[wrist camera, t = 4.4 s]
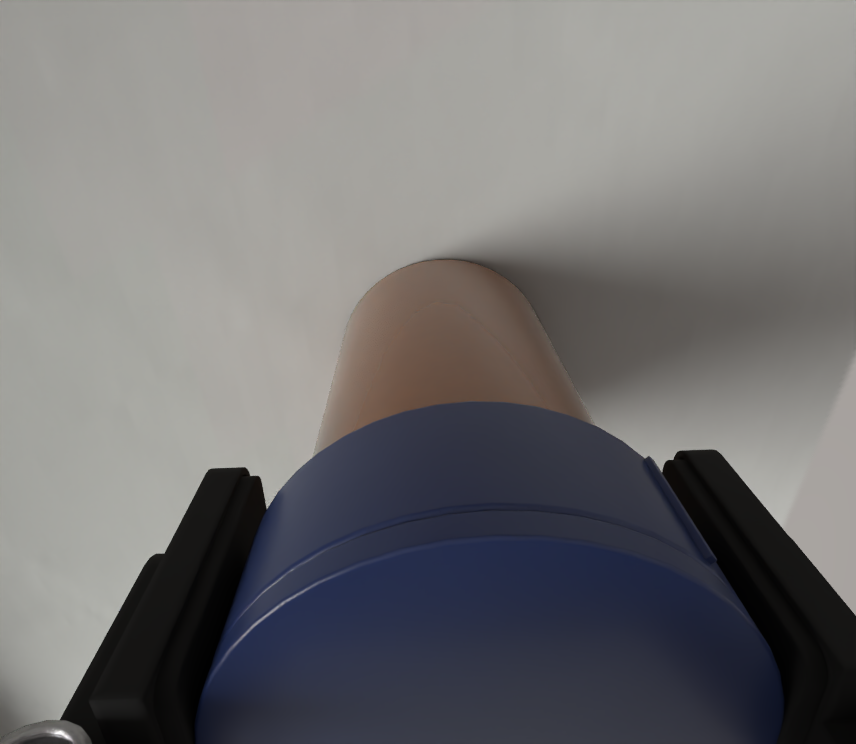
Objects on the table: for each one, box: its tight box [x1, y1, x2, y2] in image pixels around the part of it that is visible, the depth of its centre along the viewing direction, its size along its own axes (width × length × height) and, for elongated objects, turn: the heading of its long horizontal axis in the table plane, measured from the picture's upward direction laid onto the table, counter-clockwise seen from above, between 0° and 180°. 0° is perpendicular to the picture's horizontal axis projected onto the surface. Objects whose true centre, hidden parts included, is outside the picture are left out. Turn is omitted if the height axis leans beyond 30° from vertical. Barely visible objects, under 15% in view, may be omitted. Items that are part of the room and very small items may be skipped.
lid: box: [194, 401, 785, 744], centre depth 8 cm, size 6×6×2 cm
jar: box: [312, 259, 595, 458], centre depth 12 cm, size 5×5×10 cm
